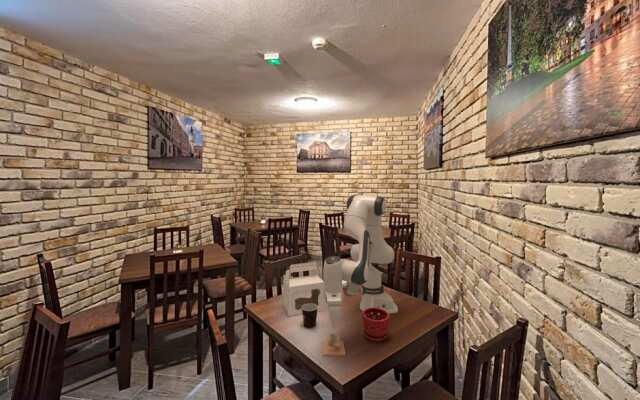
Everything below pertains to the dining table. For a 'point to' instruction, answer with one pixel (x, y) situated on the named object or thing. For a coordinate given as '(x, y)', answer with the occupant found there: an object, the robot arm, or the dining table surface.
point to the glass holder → (352, 288)
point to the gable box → (303, 288)
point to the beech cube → (333, 342)
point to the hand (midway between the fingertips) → (333, 321)
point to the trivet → (333, 353)
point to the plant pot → (375, 324)
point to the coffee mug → (309, 315)
